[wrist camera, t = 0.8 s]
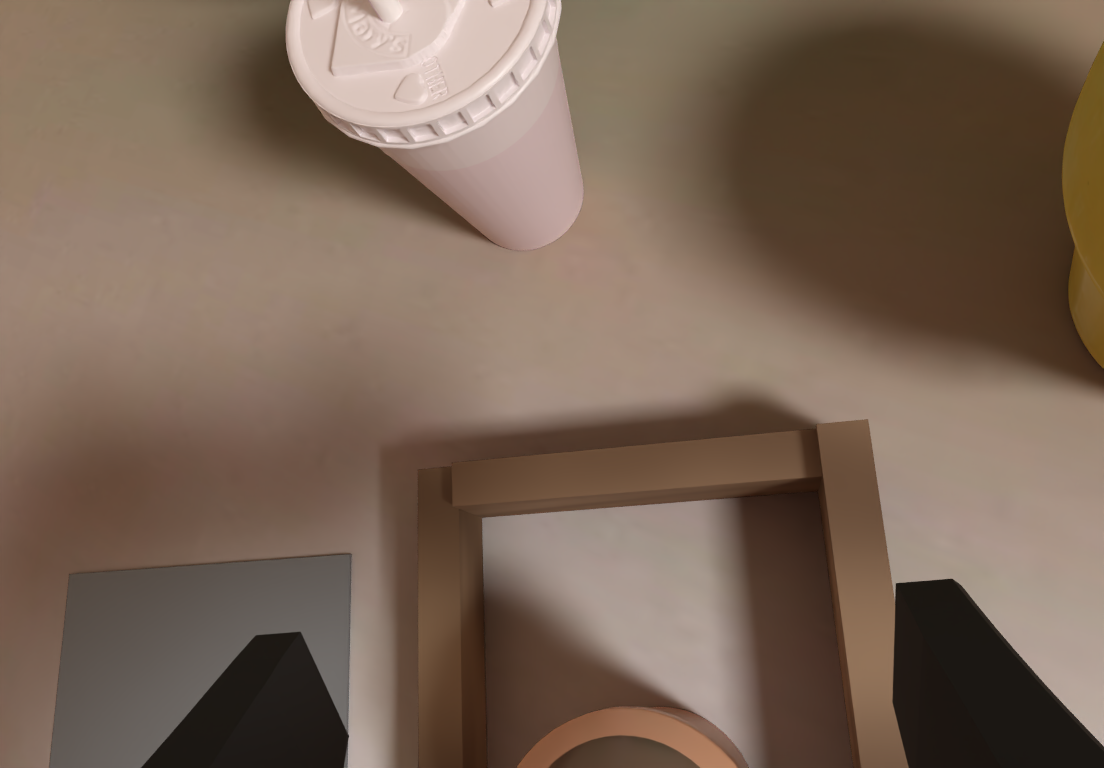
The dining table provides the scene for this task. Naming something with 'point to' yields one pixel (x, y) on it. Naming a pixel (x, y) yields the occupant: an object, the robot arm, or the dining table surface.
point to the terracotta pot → (635, 741)
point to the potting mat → (183, 646)
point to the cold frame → (640, 479)
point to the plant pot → (1087, 209)
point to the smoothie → (452, 102)
